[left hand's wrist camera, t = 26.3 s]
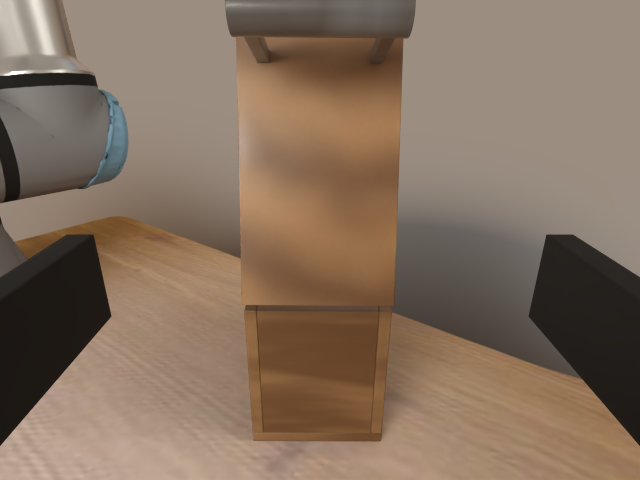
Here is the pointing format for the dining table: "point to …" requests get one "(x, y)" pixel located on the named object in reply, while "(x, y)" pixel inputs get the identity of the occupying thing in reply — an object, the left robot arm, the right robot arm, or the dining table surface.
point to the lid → (319, 148)
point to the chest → (317, 371)
